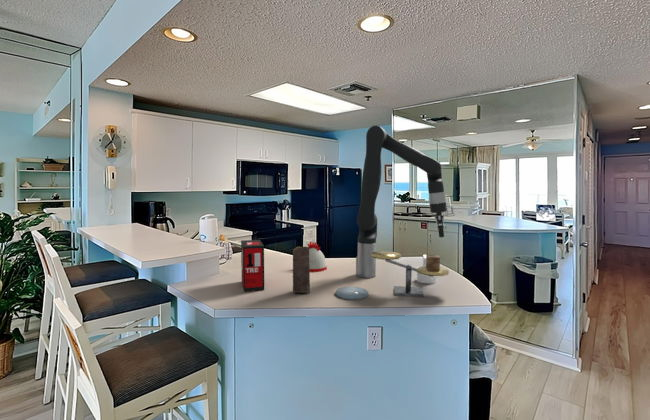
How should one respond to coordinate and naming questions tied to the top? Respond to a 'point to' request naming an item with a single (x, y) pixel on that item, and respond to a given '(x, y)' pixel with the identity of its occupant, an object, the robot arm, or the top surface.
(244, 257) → the cleaning product box
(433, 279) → the cylinder with rectangular tab
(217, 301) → the top surface
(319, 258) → the kitchen timer
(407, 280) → the balance
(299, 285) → the candle
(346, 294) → the dish
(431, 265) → the walnut block
